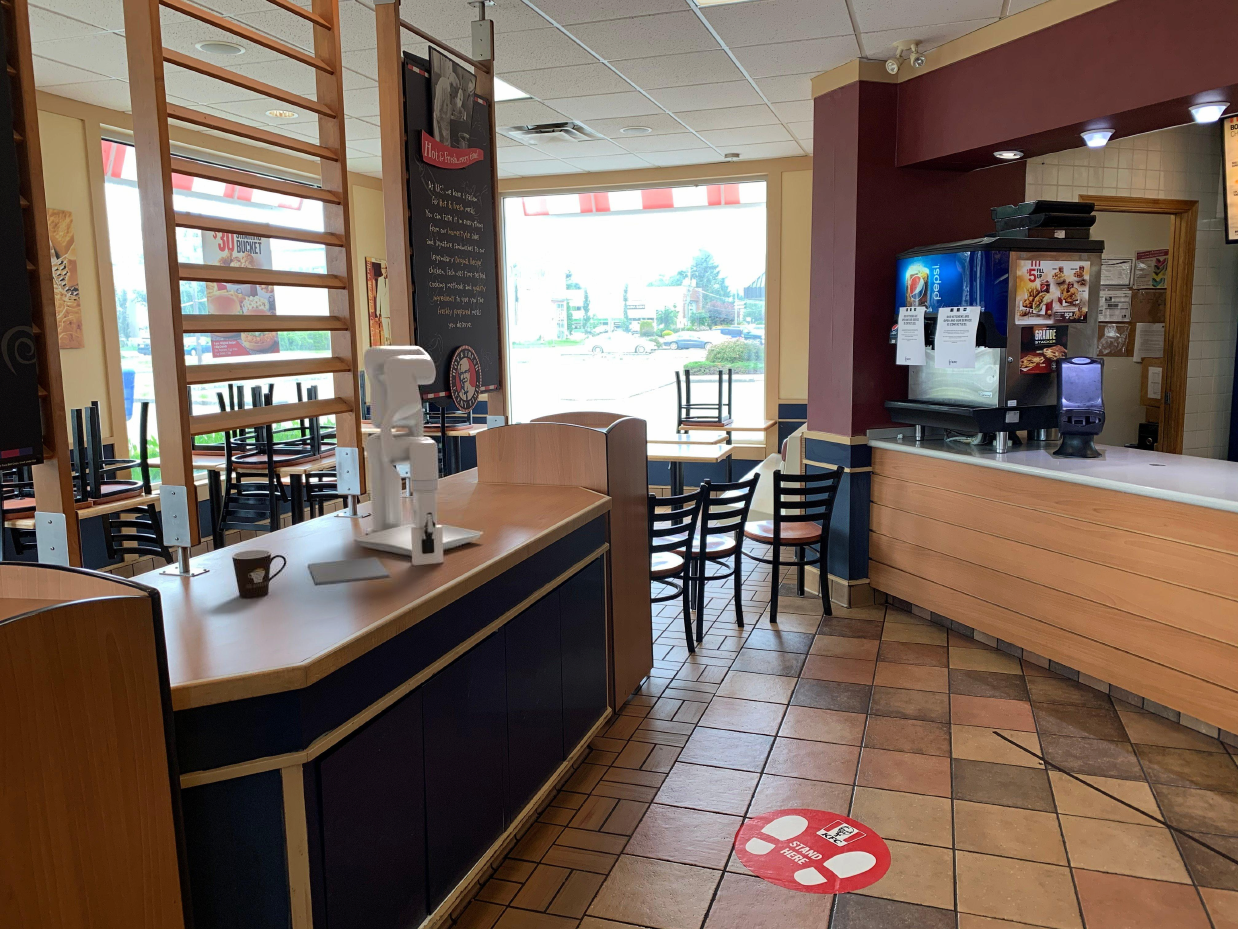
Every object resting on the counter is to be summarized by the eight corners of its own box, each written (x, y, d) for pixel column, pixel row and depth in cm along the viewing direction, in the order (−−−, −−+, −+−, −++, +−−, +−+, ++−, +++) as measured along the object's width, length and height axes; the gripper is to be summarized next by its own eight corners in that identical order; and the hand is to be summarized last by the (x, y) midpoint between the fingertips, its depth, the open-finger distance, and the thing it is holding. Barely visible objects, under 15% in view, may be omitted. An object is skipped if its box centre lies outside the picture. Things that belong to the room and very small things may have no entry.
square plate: (420, 532, 279) (419, 520, 278) (485, 543, 264) (484, 531, 264) (352, 549, 257) (351, 536, 256) (418, 563, 242) (418, 549, 241)
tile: (412, 563, 240) (410, 527, 239) (441, 560, 243) (440, 524, 242) (413, 565, 237) (412, 529, 236) (443, 562, 241) (442, 526, 239)
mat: (308, 566, 236) (308, 563, 236) (376, 559, 244) (376, 557, 244) (316, 584, 218) (316, 582, 218) (389, 576, 226) (389, 574, 226)
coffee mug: (231, 601, 205) (229, 559, 203) (237, 591, 213) (234, 551, 212) (284, 597, 208) (282, 556, 206) (288, 587, 216) (286, 548, 215)
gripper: (404, 482, 243) (407, 547, 246) (416, 490, 229) (419, 559, 231) (431, 480, 246) (433, 544, 249) (445, 488, 232) (447, 556, 234)
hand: (426, 551), depth 240 cm, fingers closed on tile, 2 cm apart
